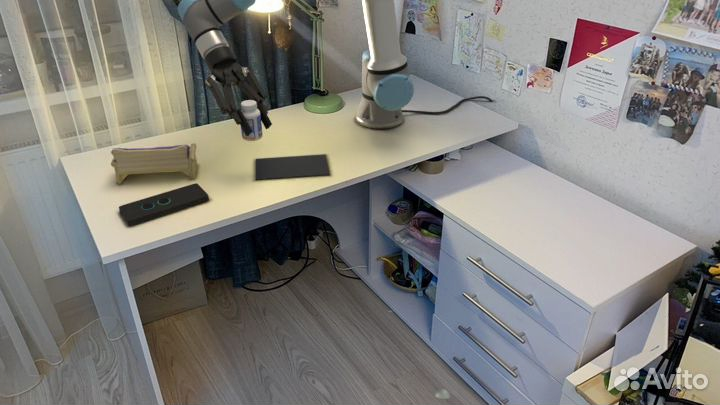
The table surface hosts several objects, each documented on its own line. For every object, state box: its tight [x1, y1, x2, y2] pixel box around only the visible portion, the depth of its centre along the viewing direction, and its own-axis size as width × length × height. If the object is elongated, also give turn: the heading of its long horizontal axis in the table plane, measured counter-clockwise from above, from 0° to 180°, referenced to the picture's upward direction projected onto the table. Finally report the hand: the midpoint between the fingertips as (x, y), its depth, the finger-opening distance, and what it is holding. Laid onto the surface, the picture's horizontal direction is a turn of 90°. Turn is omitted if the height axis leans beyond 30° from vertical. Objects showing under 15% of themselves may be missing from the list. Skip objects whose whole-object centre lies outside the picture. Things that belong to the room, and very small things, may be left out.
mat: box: [255, 153, 331, 181], centre depth 157 cm, size 20×12×1 cm, turn 99°
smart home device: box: [118, 182, 210, 227], centre depth 139 cm, size 8×2×20 cm
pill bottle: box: [240, 99, 263, 142], centre depth 146 cm, size 5×5×10 cm
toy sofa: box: [110, 142, 198, 185], centre depth 151 cm, size 21×9×10 cm, turn 99°
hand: (259, 130), depth 145 cm, fingers closed on pill bottle, 5 cm apart
